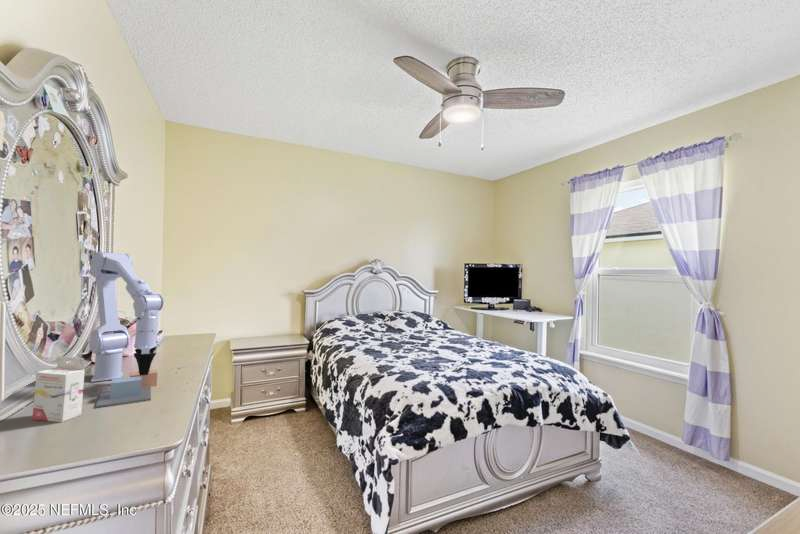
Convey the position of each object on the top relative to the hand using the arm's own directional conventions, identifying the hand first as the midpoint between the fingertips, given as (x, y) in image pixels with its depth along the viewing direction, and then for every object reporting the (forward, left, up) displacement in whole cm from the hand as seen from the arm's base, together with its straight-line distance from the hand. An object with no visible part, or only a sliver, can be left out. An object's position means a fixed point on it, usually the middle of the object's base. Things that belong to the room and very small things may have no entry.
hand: (143, 372), depth 111 cm
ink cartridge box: (+20, -17, -5) cm, 27 cm away
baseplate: (+10, -4, -4) cm, 12 cm away
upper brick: (0, 0, -5) cm, 5 cm away
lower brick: (+10, -4, -4) cm, 11 cm away
